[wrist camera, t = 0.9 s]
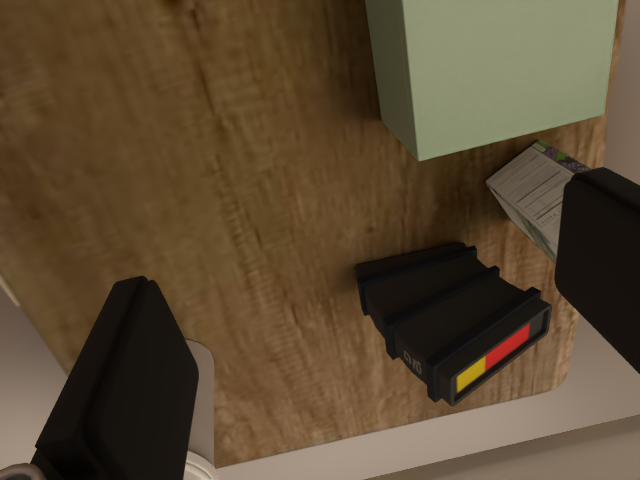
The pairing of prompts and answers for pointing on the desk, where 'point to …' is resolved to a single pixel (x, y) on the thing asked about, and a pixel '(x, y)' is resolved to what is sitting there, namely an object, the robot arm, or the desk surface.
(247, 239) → the desk surface
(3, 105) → the desk surface
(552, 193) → the syrup box
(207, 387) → the coffee cup
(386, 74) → the cabinet
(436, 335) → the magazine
